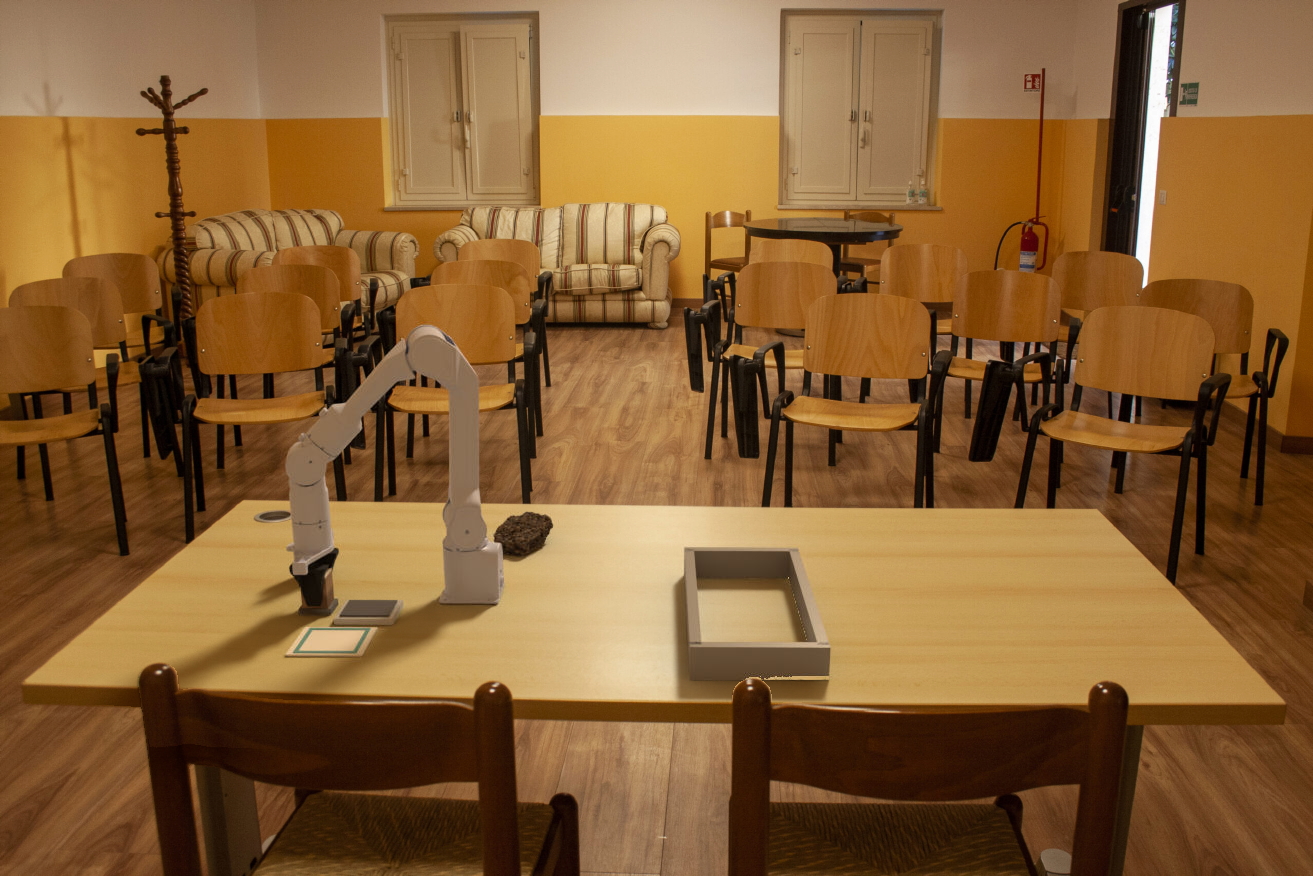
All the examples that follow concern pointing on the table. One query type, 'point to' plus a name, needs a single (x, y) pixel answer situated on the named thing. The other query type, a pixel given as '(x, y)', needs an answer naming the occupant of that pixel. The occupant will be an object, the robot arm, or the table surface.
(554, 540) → the table surface
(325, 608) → the stamp
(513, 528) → the dark brown rock
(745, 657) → the open rectangular frame
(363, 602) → the ink pad
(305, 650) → the print sheet
